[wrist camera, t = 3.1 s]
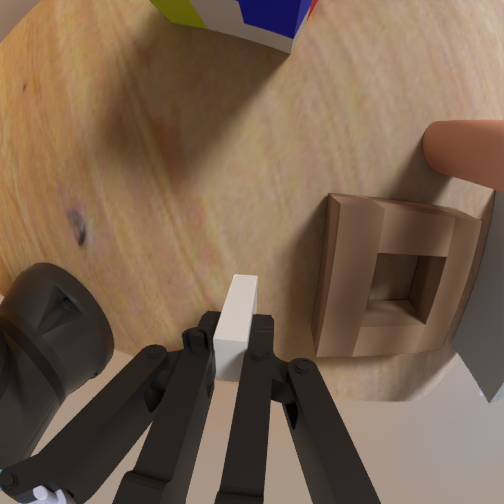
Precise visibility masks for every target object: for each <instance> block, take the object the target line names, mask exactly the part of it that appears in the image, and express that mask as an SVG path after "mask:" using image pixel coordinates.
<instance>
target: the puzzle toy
mask: <svg viewBox="0 0 504 504" xmlns="http://www.w3.org/2000/svg"><path fill="white" fill-rule="evenodd" d="M149 1H150V2H151V3H152V4H153V5H154V6H155V7H156V8H157V9H158V10H159V11H160V12H161V13H162V14H163V15H164V16H165V17H166V18H167V19H168V20H169V21H170V22H171V23H176V24H183V25H188V26H194V27H199V28H204V29H208V30H213V31H217V32H221V33H225V34H229V35H233V36H237V37H240V38H244V39H247V40H250V41H254V42H257V43H260V44H263V45H266V46H269V47H272V48H275V49H278V50H280V51H283V52H286V53H289V54H291V52H292V50H293V48H294V46H295V44H296V42H297V40H298V38H299V36H300V34H301V32H302V30H303V28H304V26H305V24H306V22H307V20H308V18H309V16H310V14H311V12H312V10H313V8H314V6H315V5H316V3H317V1H318V0H149Z"/></svg>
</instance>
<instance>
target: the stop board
mask: <svg viewBox="0 0 504 504" xmlns="http://www.w3.org/2000/svg"><path fill="white" fill-rule="evenodd" d="M451 344H452V345H453V347H454V348H455V350H456V351H457V352H458V354H459V355H460V357H461V358H462V360H463V362H464V363H465V365H466V366H467V368H468V369H469V371H470V372H471V374H472V376H473V377H474V379H475V380H476V382H477V384H478V385H479V387H480V388H481V390H482V392H483V394H484V395H485V397H486V399H487V401H488V402H489V403H492V402H494V401H497V400H499V399H502V398H504V193H503V192H500V191H497V190H496V194H495V200H494V207H493V212H492V218H491V223H490V228H489V232H488V237H487V241H486V245H485V249H484V253H483V257H482V260H481V264H480V267H479V271H478V274H477V277H476V280H475V283H474V287H473V289H472V292H471V295H470V298H469V301H468V303H467V306H466V309H465V311H464V314H463V316H462V319H461V321H460V324H459V326H458V328H457V331H456V333H455V335H454V337H453V340H452V342H451Z"/></svg>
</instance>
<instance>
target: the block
mask: <svg viewBox="0 0 504 504" xmlns="http://www.w3.org/2000/svg"><path fill="white" fill-rule="evenodd" d="M481 224H482V221H480V220H478V219H476V218H474V217H472V216H470V215H468V214H466V213H464V212H462V211H459V210H457V209H455V208H449V207H442V206H436V205H429V204H423V203H416V202H408V201H401V200H393V199H384V198H376V197H366V196H356V195H346V194H335V193H328V205H327V215H326V225H325V235H324V243H323V252H322V260H321V268H320V275H319V282H318V289H317V296H316V302H315V309H314V315H313V321H312V327H311V328H312V334H313V340H314V346H315V353H316V357H356V356H378V355H393V354H405V353H416V352H426V351H434V350H440V348H441V346H442V344H443V342H444V339H445V337H446V335H447V333H448V330H449V328H450V325H451V323H452V321H453V318H454V316H455V313H456V310H457V308H458V305H459V302H460V299H461V297H462V294H463V291H464V288H465V285H466V282H467V279H468V275H469V272H470V269H471V265H472V262H473V258H474V254H475V250H476V246H477V242H478V238H479V234H480V229H481ZM378 253H391V254H408V255H420V258H419V262H418V266H417V270H416V274H415V278H414V282H413V285H412V289H411V292H410V296H409V299H408V300H398V301H375V300H368V297H369V293H370V288H371V284H372V280H373V275H374V270H375V265H376V260H377V255H378Z"/></svg>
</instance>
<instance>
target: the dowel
mask: <svg viewBox="0 0 504 504" xmlns="http://www.w3.org/2000/svg"><path fill="white" fill-rule="evenodd" d="M423 152H424V156H425V158H426V160H427V162H428V164H429V165H430V166H431V168H432V169H434V170H435V171H436V172H438V173H441V174H445V175H449V176H452V177H456V178H459V179H463V180H466V181H470V182H473V183H476V184H479V185H482V186H486V187H489V188H492V189H495V190H497V191H500V192H503V193H504V120H453V121H437V122H434V123H432V124H431V125H429V127H428V128H427V129H426V131H425V133H424V137H423Z"/></svg>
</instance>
